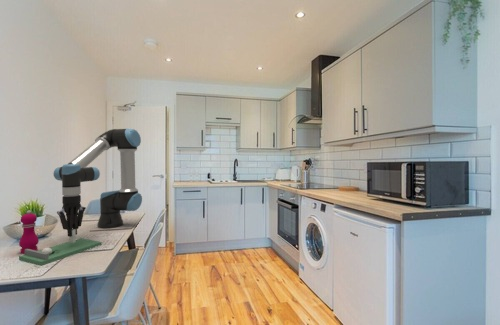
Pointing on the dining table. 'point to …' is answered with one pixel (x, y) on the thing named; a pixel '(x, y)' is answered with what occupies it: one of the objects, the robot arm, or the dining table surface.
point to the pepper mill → (28, 232)
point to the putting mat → (58, 251)
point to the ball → (47, 250)
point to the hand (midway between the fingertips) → (72, 242)
